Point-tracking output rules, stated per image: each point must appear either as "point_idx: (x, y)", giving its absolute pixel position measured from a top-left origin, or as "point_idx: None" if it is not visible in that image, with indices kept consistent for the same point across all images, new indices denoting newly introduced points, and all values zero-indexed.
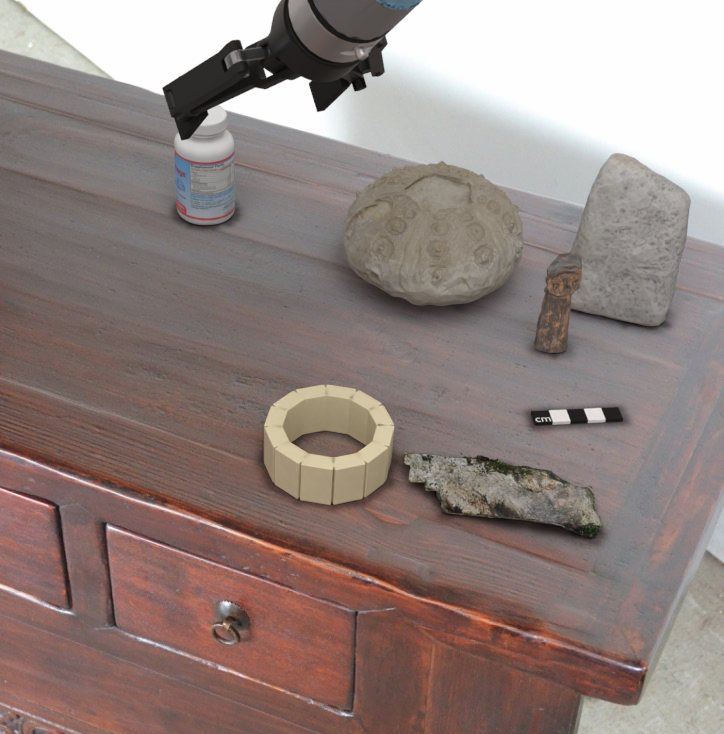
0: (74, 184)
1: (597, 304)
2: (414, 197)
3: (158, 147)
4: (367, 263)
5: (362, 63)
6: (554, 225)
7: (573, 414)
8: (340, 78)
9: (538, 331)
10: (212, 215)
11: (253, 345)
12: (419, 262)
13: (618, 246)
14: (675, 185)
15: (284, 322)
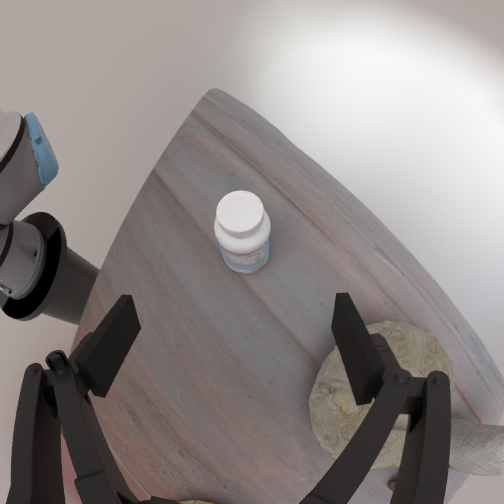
0: (177, 193)
1: None
2: None
3: (249, 170)
4: (314, 430)
5: (406, 407)
6: (466, 351)
7: None
8: (361, 396)
9: (392, 490)
10: (241, 271)
11: (205, 426)
12: None
13: (472, 466)
14: None
15: (239, 413)
